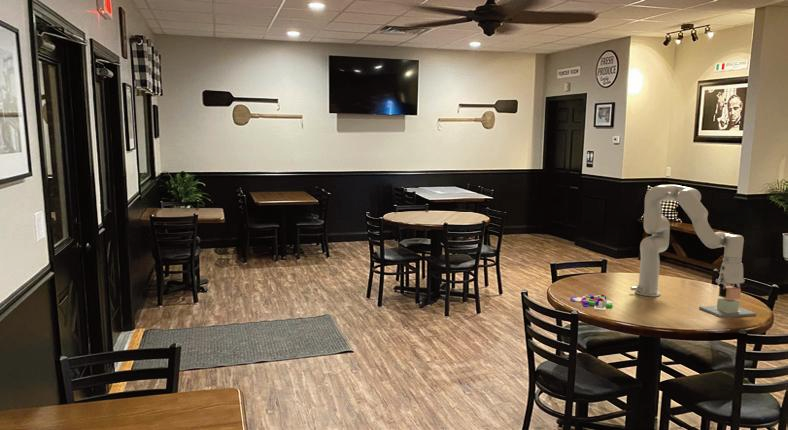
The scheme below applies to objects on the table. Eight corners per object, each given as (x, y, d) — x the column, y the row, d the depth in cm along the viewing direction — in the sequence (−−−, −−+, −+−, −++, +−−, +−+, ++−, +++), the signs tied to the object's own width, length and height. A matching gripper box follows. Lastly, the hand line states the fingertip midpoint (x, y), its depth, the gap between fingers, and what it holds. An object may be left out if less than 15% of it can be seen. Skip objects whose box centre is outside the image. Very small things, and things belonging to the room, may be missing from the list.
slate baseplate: (720, 317, 270) (721, 315, 269) (699, 308, 283) (699, 306, 283) (756, 315, 274) (756, 313, 274) (733, 307, 287) (733, 304, 287)
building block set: (573, 294, 306) (574, 286, 306) (614, 300, 298) (615, 291, 298) (567, 306, 284) (568, 298, 283) (611, 312, 276) (611, 304, 275)
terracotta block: (729, 299, 273) (730, 289, 272) (718, 296, 279) (719, 286, 279) (739, 298, 275) (740, 288, 274) (728, 295, 281) (729, 285, 280)
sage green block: (726, 311, 274) (727, 301, 274) (716, 308, 281) (717, 298, 280) (738, 311, 276) (739, 301, 275) (727, 307, 282) (728, 297, 281)
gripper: (723, 262, 269) (719, 298, 272) (753, 261, 273) (749, 297, 276) (711, 258, 277) (707, 294, 279) (741, 257, 280) (737, 293, 283)
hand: (728, 295), depth 277 cm, fingers closed on terracotta block, 6 cm apart
